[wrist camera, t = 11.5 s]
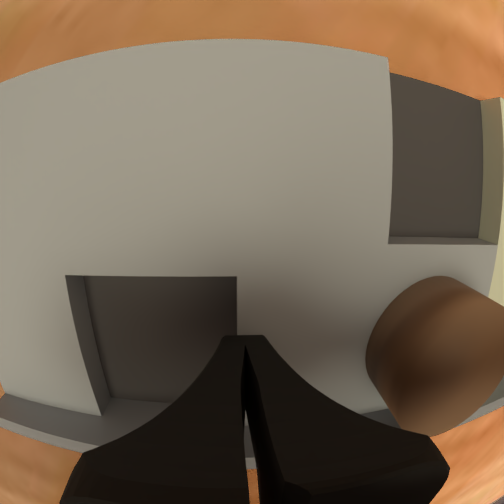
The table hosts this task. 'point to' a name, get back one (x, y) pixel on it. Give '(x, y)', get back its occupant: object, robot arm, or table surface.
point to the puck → (437, 354)
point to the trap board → (226, 222)
